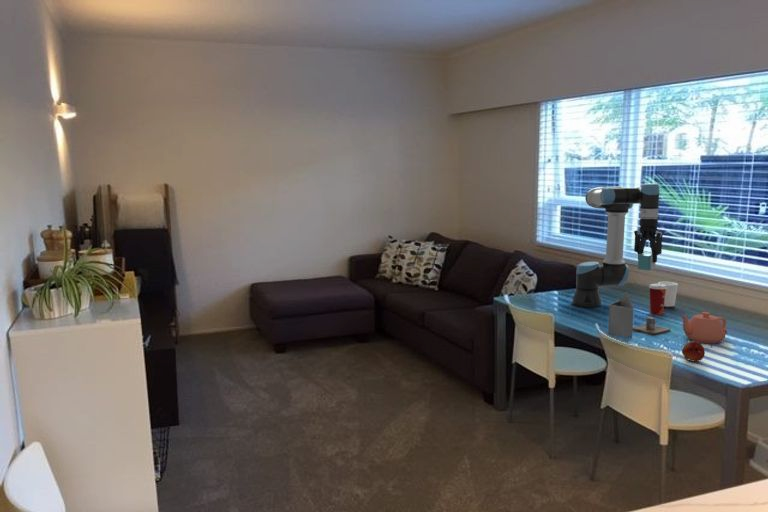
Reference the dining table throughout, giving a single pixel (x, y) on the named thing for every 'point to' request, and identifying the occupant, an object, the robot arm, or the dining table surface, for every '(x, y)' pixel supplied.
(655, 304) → the coffee cup
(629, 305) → the planter
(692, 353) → the fruit
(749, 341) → the dining table surface
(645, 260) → the cap
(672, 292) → the cup
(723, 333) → the teapot
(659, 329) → the post block
